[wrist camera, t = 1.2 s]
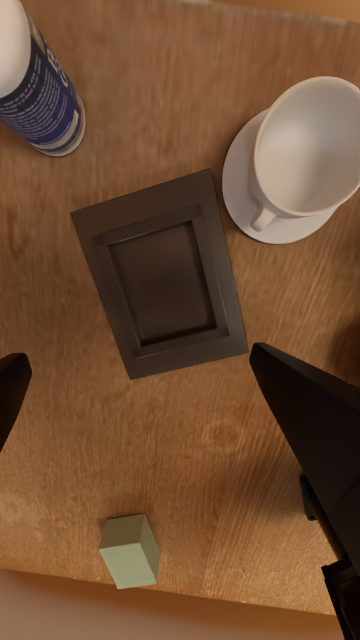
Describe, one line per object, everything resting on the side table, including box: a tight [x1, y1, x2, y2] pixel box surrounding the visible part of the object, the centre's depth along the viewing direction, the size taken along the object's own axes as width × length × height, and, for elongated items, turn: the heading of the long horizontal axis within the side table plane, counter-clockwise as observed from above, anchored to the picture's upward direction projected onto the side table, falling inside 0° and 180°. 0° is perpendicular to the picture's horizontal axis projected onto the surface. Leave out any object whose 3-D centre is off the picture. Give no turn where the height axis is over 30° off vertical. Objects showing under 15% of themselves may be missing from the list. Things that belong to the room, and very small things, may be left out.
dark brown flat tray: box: [71, 168, 249, 380], centre depth 19 cm, size 16×12×2 cm
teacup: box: [222, 76, 360, 244], centre depth 15 cm, size 10×10×5 cm
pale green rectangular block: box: [99, 514, 160, 589], centre depth 27 cm, size 7×5×3 cm
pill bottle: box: [0, 0, 86, 156], centre depth 12 cm, size 5×5×10 cm
